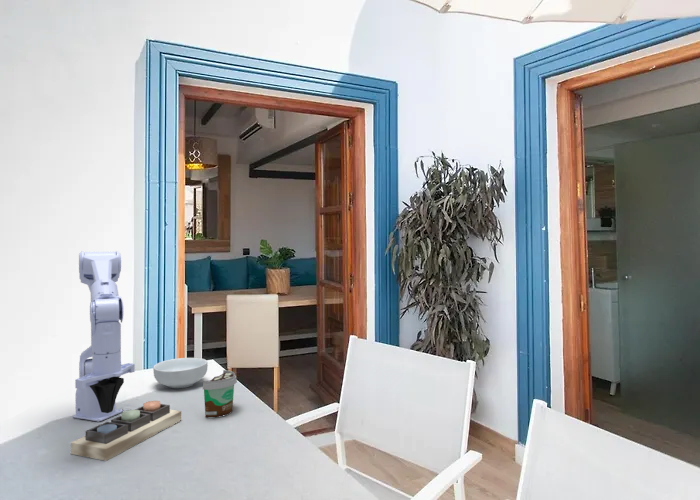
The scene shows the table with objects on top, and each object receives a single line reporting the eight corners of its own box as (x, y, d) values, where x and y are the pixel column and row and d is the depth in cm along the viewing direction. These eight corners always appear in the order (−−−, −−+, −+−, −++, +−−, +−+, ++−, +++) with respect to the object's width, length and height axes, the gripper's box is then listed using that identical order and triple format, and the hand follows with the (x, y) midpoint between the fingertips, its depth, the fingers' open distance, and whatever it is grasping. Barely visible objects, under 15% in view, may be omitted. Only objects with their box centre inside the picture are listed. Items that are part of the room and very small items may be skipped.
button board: (70, 453, 102) (70, 433, 102) (150, 416, 125) (150, 399, 125) (106, 460, 99) (106, 439, 99) (181, 420, 122) (181, 403, 122)
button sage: (117, 422, 111) (117, 414, 111) (130, 416, 115) (130, 408, 115) (131, 424, 110) (131, 416, 110) (143, 418, 113) (143, 410, 113)
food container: (224, 421, 121) (224, 383, 121) (202, 419, 123) (202, 381, 123) (244, 405, 134) (244, 370, 133) (224, 404, 135) (224, 369, 135)
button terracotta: (139, 412, 117) (139, 404, 117) (151, 406, 121) (151, 399, 121) (152, 413, 116) (152, 406, 116) (163, 408, 120) (163, 401, 120)
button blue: (92, 437, 104) (92, 429, 104) (107, 431, 108) (107, 423, 108) (106, 440, 103) (106, 432, 103) (120, 433, 107) (120, 425, 107)
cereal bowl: (170, 376, 163) (170, 356, 163) (215, 378, 160) (215, 358, 160) (142, 391, 146) (142, 369, 146) (192, 394, 144) (192, 371, 144)
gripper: (93, 360, 97) (93, 425, 97) (144, 346, 111) (144, 403, 111) (67, 357, 99) (68, 421, 100) (121, 344, 113) (121, 400, 113)
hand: (106, 411), depth 105 cm, fingers closed
